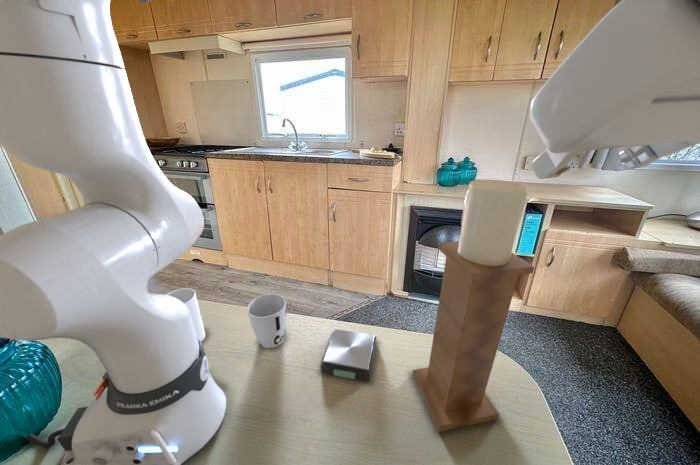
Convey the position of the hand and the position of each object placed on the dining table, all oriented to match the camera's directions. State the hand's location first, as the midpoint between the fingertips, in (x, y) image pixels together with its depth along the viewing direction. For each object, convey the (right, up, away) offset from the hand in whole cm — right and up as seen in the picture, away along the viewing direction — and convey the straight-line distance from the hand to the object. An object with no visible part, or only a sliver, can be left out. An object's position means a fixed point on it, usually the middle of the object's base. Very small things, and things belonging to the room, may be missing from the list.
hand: (586, 166), depth 24 cm
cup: (-39, -31, +40) cm, 64 cm away
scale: (-20, -33, +36) cm, 53 cm away
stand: (-1, -36, +28) cm, 46 cm away
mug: (-58, -31, +39) cm, 76 cm away
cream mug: (-2, -8, +17) cm, 19 cm away
